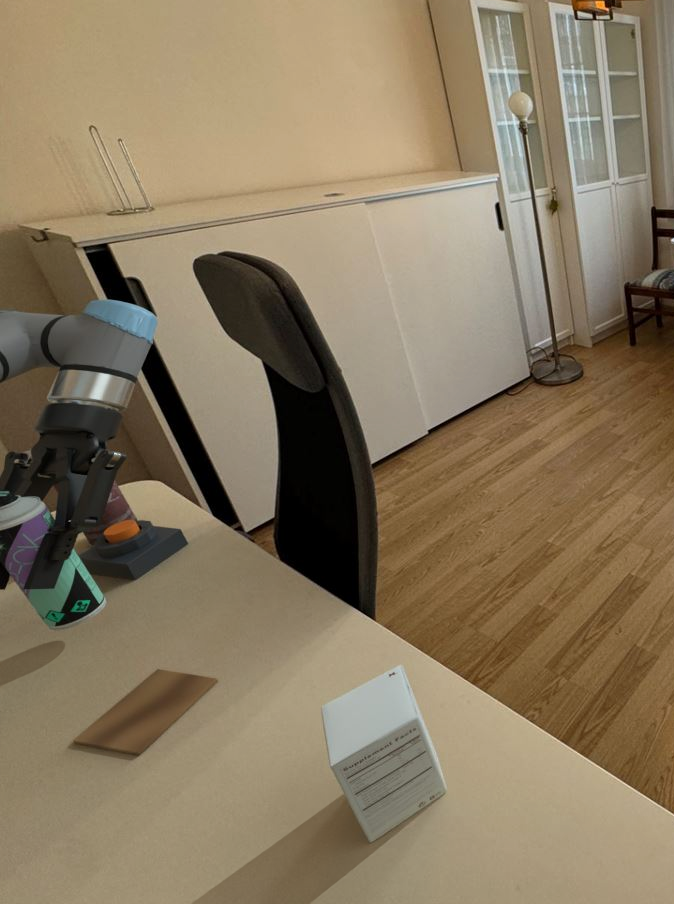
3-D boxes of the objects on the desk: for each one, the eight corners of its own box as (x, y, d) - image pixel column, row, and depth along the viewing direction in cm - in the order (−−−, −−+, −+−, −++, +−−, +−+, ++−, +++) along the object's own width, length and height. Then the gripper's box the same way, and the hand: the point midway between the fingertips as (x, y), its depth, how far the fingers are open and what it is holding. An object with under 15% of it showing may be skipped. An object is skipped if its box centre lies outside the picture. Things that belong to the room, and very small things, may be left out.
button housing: (83, 573, 87) (67, 548, 85) (139, 538, 94) (126, 514, 92) (135, 580, 85) (120, 555, 83) (188, 543, 93) (176, 520, 90)
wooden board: (74, 743, 63) (72, 740, 63) (159, 671, 71) (157, 668, 71) (139, 755, 62) (137, 752, 61) (218, 680, 70) (216, 678, 69)
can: (119, 521, 98) (80, 455, 92) (150, 524, 97) (112, 457, 91) (79, 546, 93) (34, 477, 87) (111, 549, 92) (68, 479, 86)
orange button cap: (102, 542, 86) (96, 534, 86) (128, 527, 90) (123, 518, 89) (121, 545, 86) (115, 536, 85) (146, 529, 89) (141, 520, 88)
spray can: (48, 614, 75) (-37, 494, 67) (105, 590, 78) (32, 474, 70) (47, 638, 71) (-43, 514, 63) (107, 612, 75) (30, 492, 67)
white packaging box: (356, 782, 59) (318, 704, 53) (431, 737, 63) (403, 660, 58) (368, 847, 53) (327, 768, 48) (449, 793, 57) (419, 714, 52)
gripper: (178, 414, 80) (119, 587, 72) (49, 416, 80) (-24, 589, 72) (126, 399, 73) (54, 589, 65) (-15, 401, 73) (-105, 592, 65)
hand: (13, 589), depth 68 cm, fingers closed on spray can, 5 cm apart
